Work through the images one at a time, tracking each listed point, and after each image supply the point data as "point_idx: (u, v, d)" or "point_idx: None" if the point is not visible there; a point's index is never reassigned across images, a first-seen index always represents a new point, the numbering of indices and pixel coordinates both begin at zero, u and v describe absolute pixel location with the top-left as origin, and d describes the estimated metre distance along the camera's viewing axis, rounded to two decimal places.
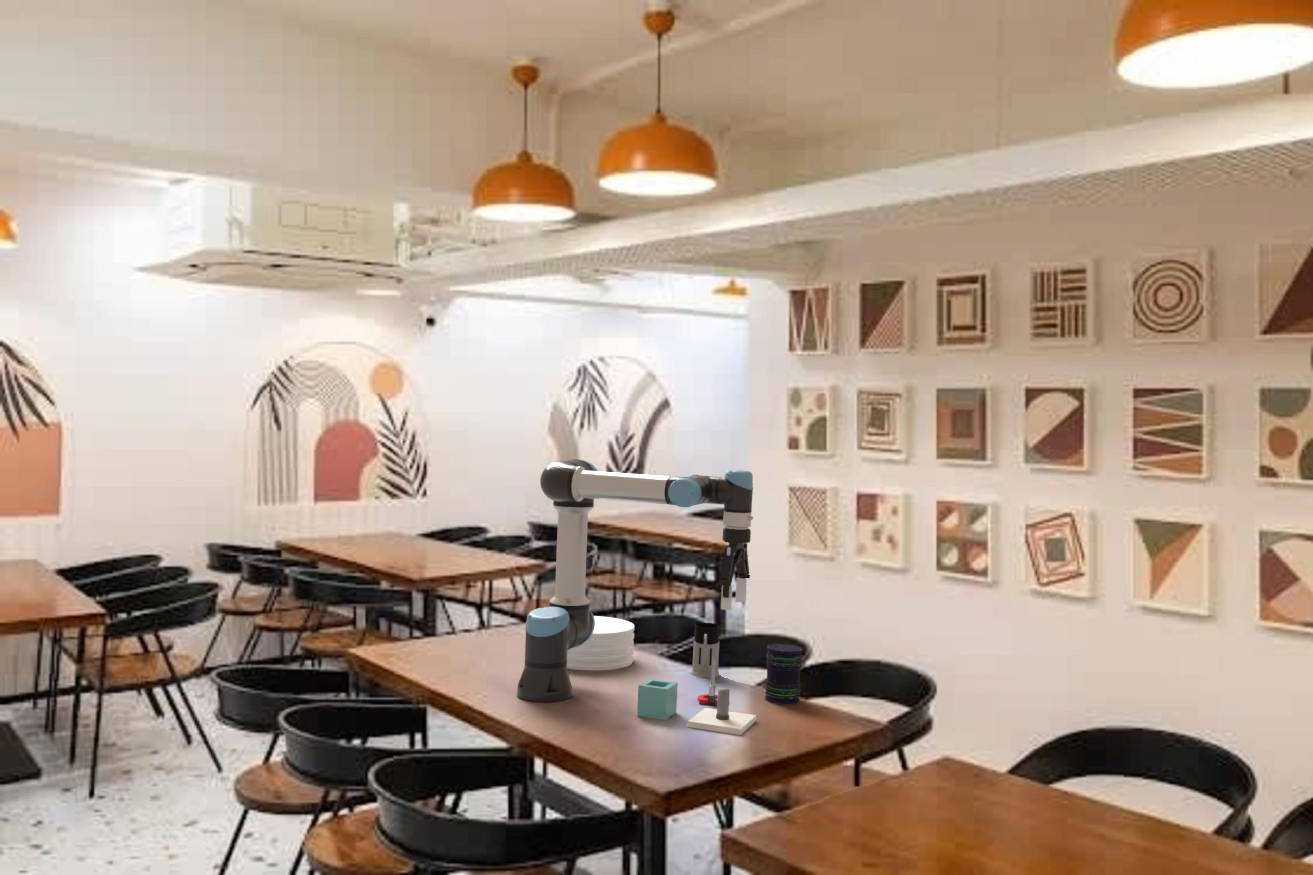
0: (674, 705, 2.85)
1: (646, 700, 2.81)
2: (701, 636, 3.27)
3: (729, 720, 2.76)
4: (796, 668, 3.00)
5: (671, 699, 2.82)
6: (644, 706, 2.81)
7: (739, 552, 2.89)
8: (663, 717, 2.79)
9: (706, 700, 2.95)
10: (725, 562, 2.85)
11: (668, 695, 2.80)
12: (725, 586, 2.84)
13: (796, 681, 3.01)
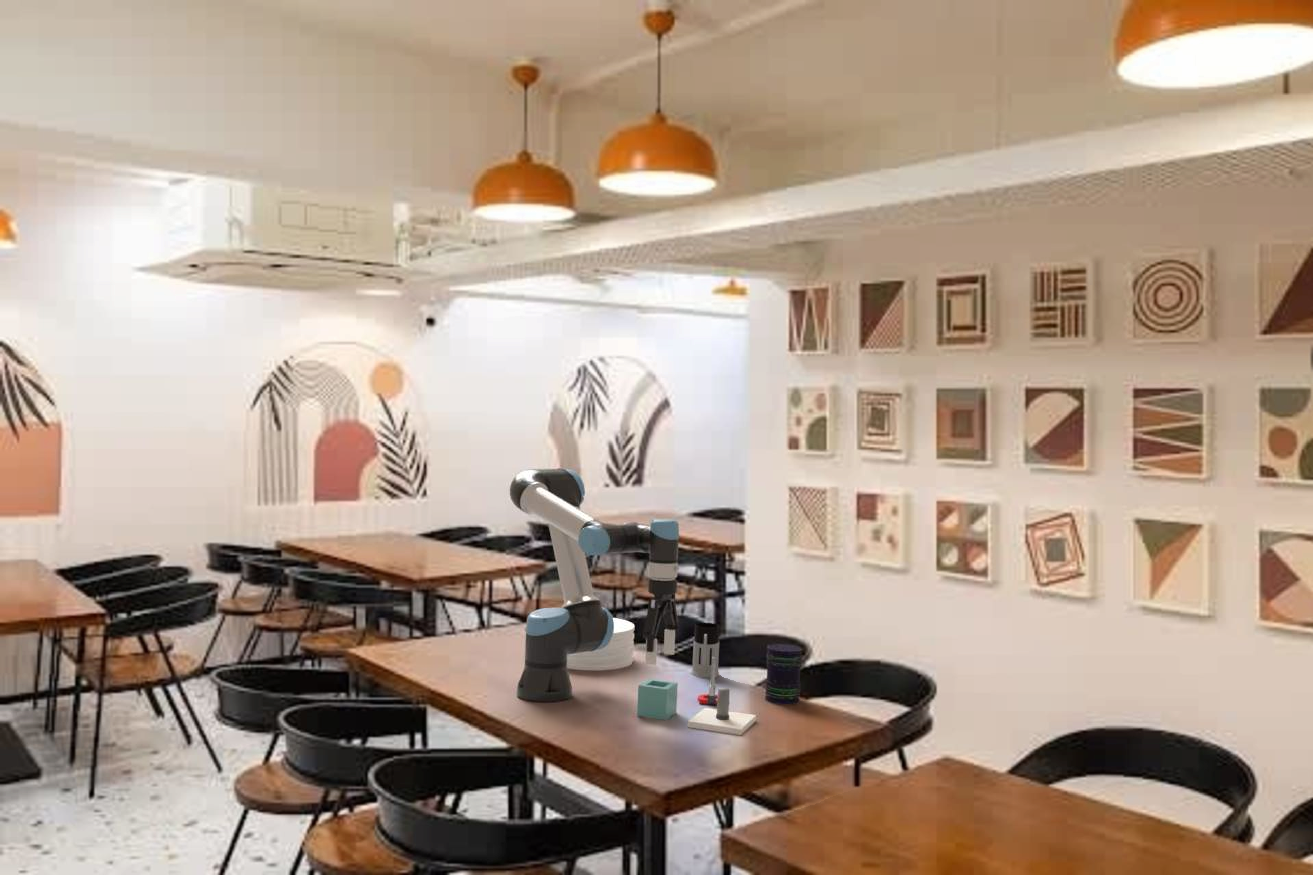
0: (674, 705, 2.85)
1: (646, 700, 2.81)
2: (701, 636, 3.27)
3: (729, 720, 2.76)
4: (796, 668, 3.00)
5: (671, 699, 2.82)
6: (644, 706, 2.81)
7: (665, 604, 2.81)
8: (663, 717, 2.79)
9: (706, 700, 2.95)
10: (649, 615, 2.76)
11: (668, 695, 2.80)
12: (649, 640, 2.76)
13: (796, 681, 3.01)
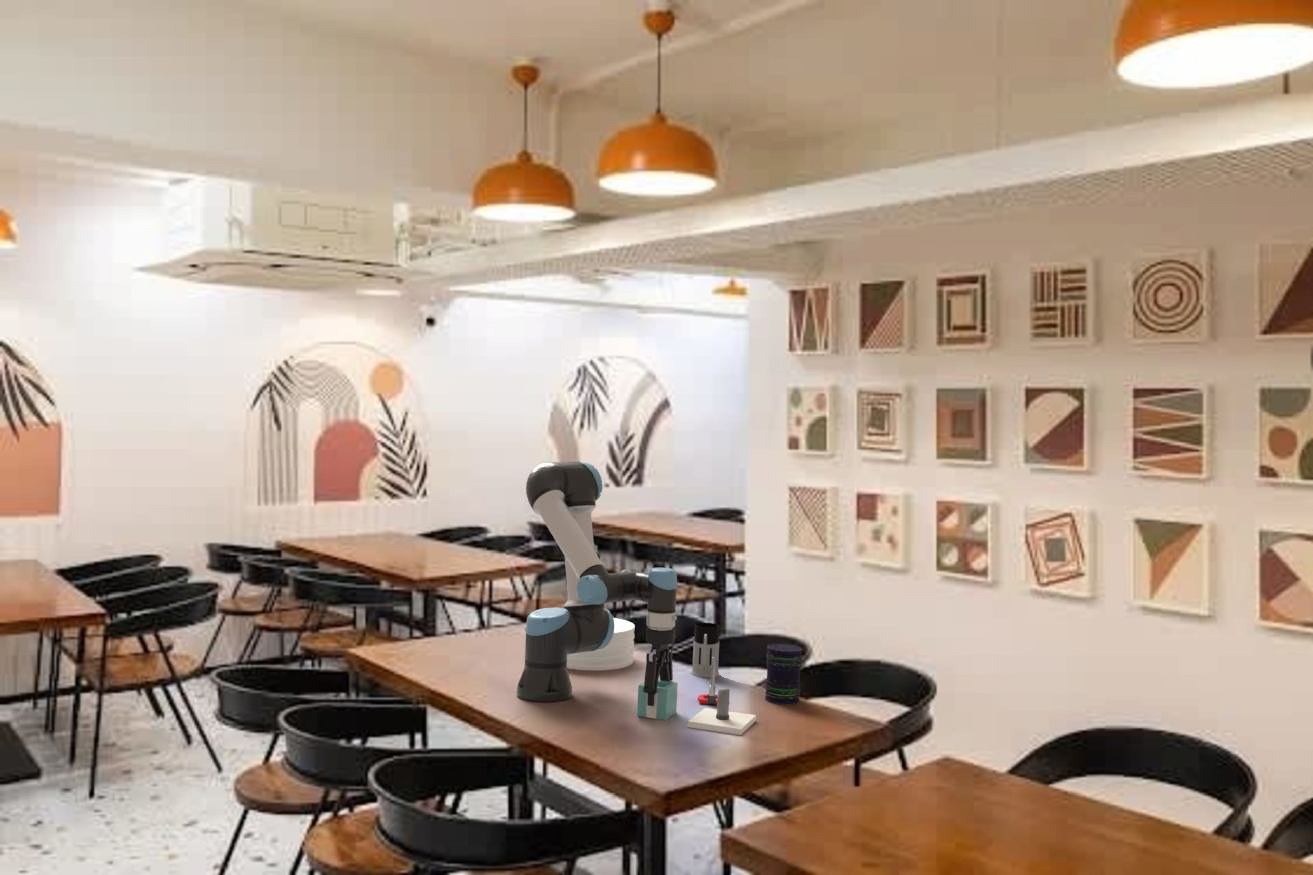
0: (674, 705, 2.85)
1: (646, 700, 2.81)
2: (701, 636, 3.27)
3: (729, 720, 2.76)
4: (796, 668, 3.00)
5: (671, 699, 2.82)
6: (644, 706, 2.81)
7: (662, 654, 2.81)
8: (663, 717, 2.79)
9: (706, 700, 2.95)
10: (648, 669, 2.78)
11: (668, 695, 2.80)
12: (650, 694, 2.78)
13: (796, 681, 3.01)
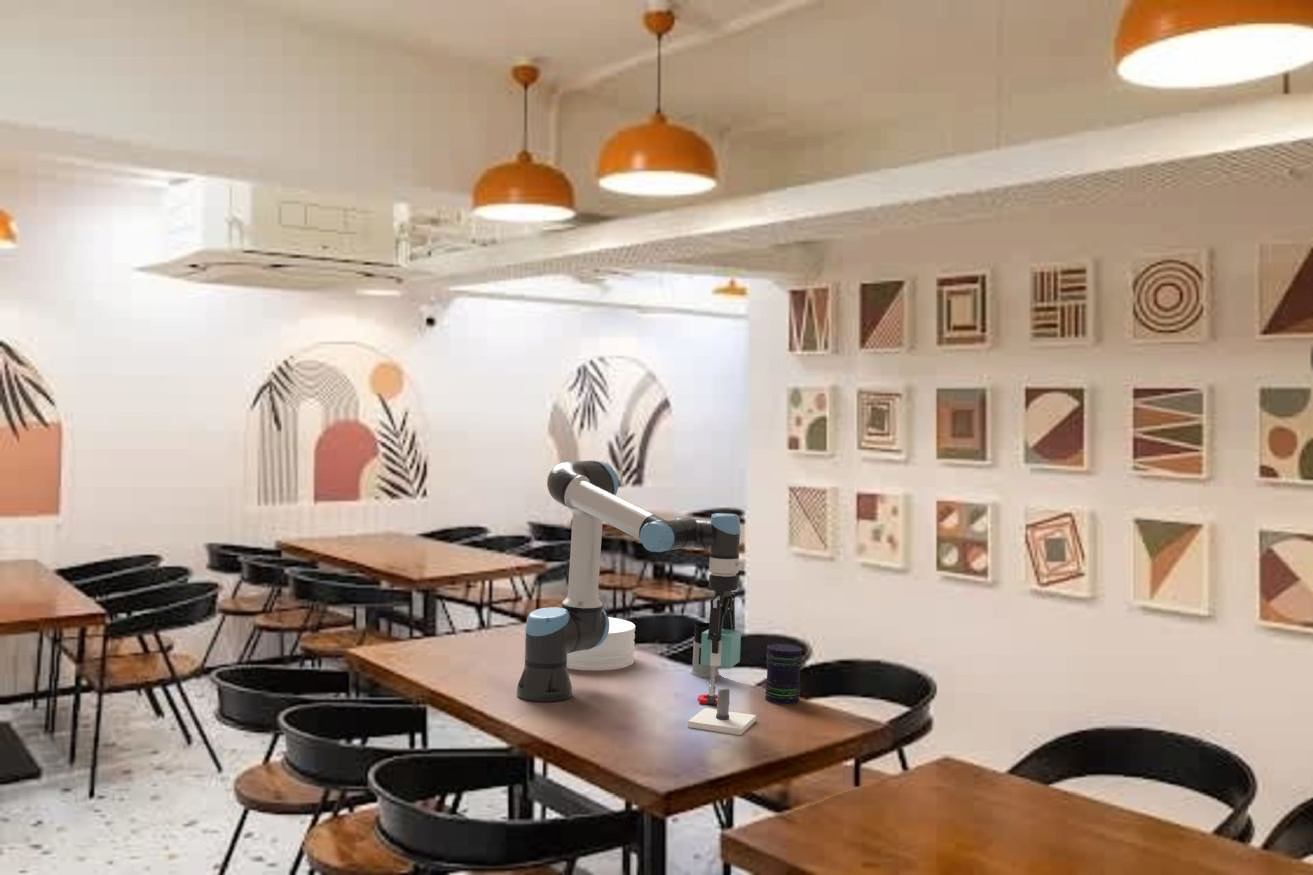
0: (738, 654, 2.78)
1: (710, 648, 2.74)
2: (701, 636, 3.27)
3: (729, 720, 2.76)
4: (796, 668, 3.00)
5: (735, 647, 2.76)
6: (708, 654, 2.74)
7: (726, 601, 2.75)
8: (728, 665, 2.73)
9: (706, 700, 2.96)
10: (712, 616, 2.71)
11: (732, 642, 2.73)
12: (714, 641, 2.72)
13: (796, 681, 3.01)
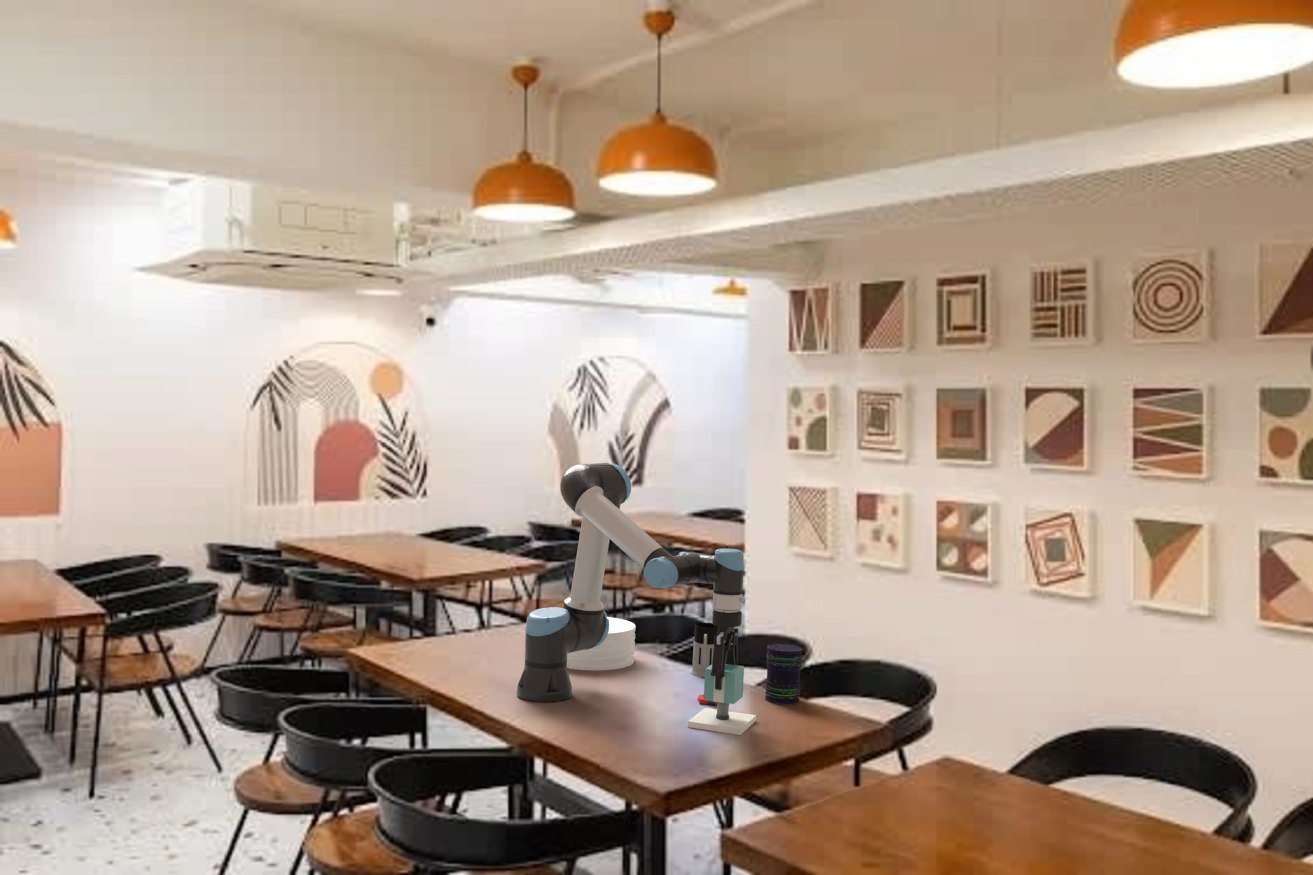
0: (741, 689, 2.78)
1: (713, 684, 2.74)
2: (701, 636, 3.27)
3: (729, 720, 2.76)
4: (796, 668, 3.00)
5: (738, 682, 2.76)
6: (711, 690, 2.74)
7: (730, 637, 2.75)
8: (731, 701, 2.73)
9: (706, 700, 2.96)
10: (716, 652, 2.71)
11: (736, 679, 2.73)
12: (717, 678, 2.72)
13: (796, 681, 3.01)
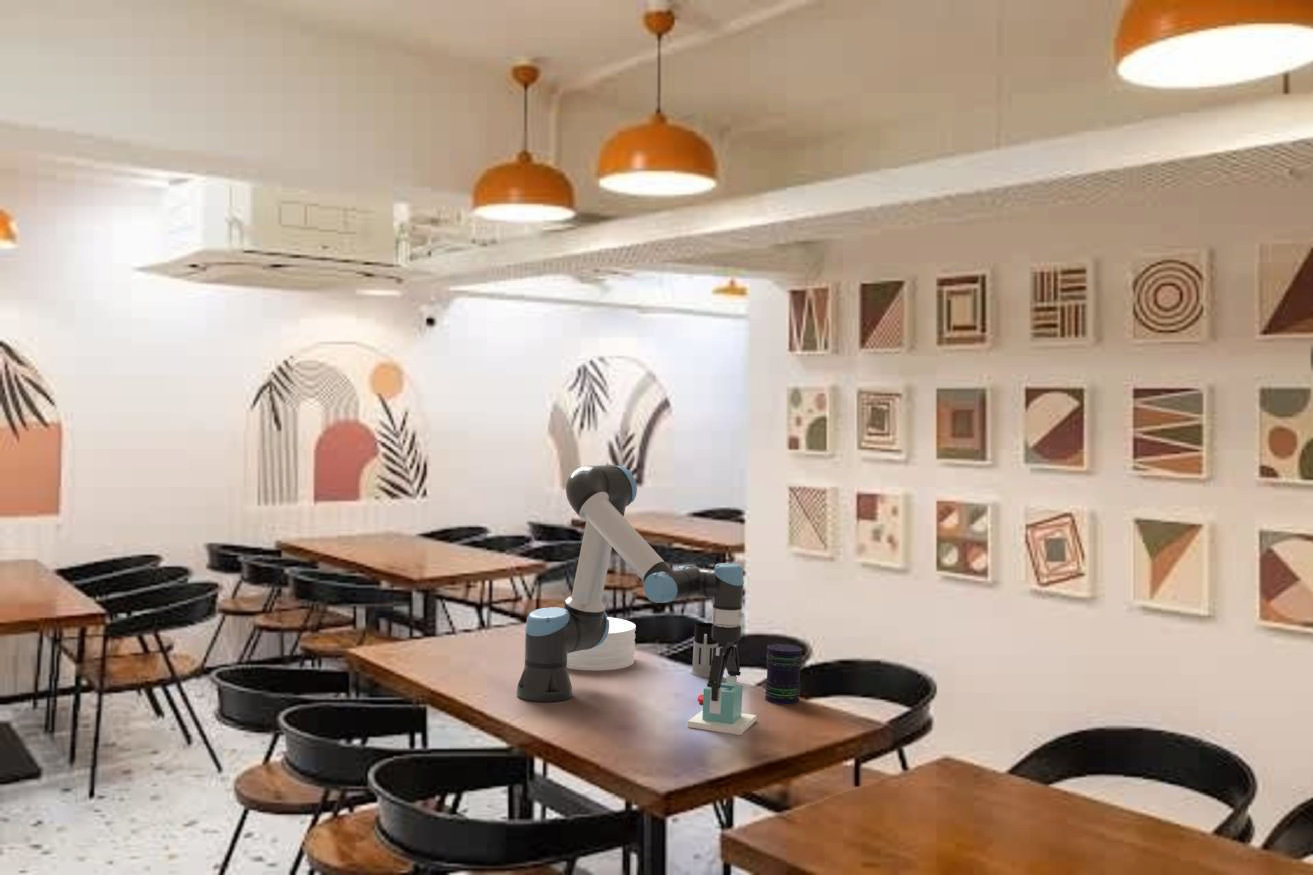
0: (739, 709, 2.78)
1: None
2: (701, 636, 3.27)
3: None
4: (796, 668, 3.00)
5: (737, 702, 2.76)
6: None
7: (729, 651, 2.75)
8: (730, 721, 2.73)
9: None
10: (714, 663, 2.70)
11: (734, 699, 2.73)
12: (714, 689, 2.70)
13: (796, 681, 3.01)
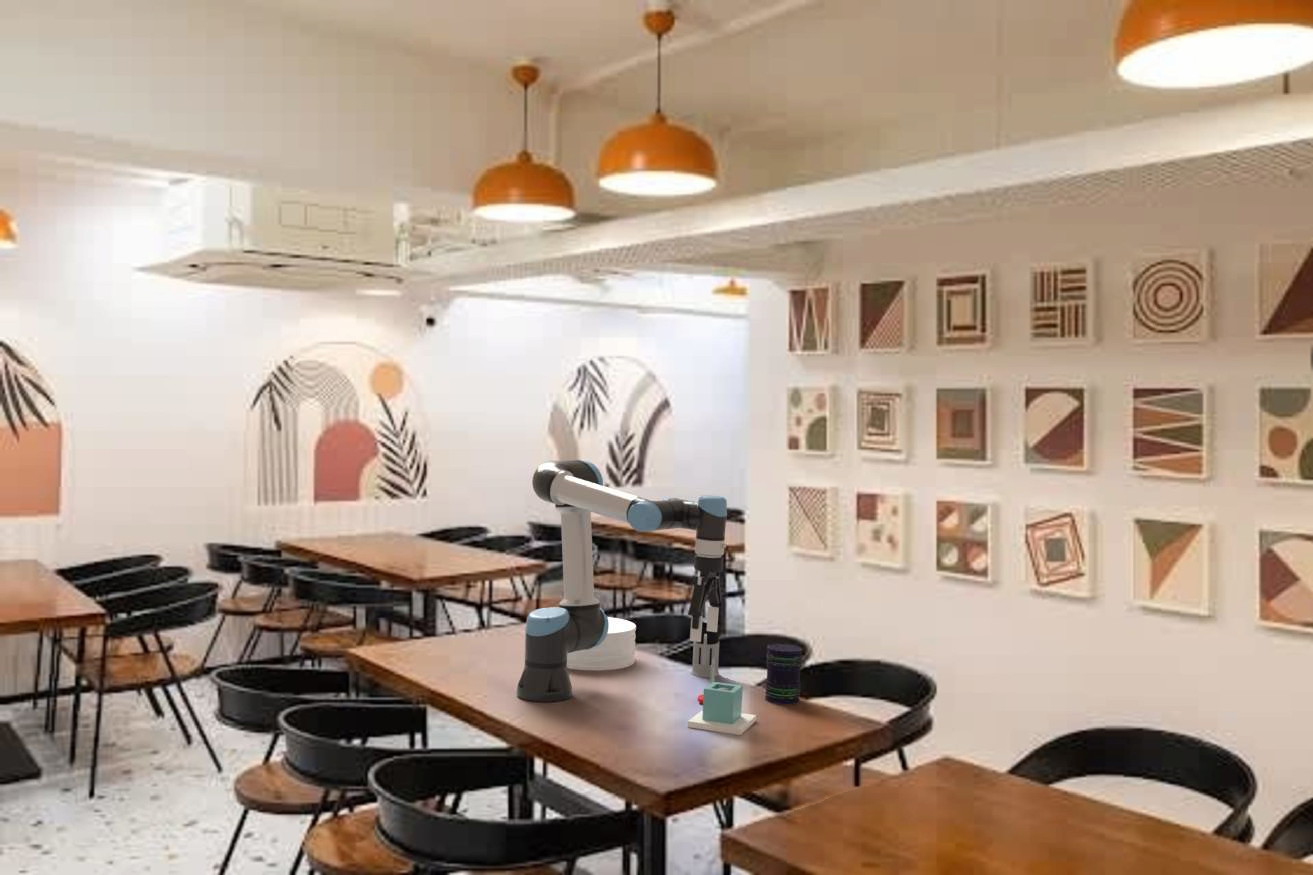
0: (739, 709, 2.78)
1: (712, 704, 2.74)
2: (701, 636, 3.27)
3: None
4: (796, 668, 3.00)
5: (737, 702, 2.76)
6: (710, 710, 2.75)
7: (711, 581, 2.78)
8: (730, 721, 2.73)
9: None
10: (695, 592, 2.74)
11: (734, 699, 2.73)
12: (695, 617, 2.73)
13: (796, 681, 3.01)
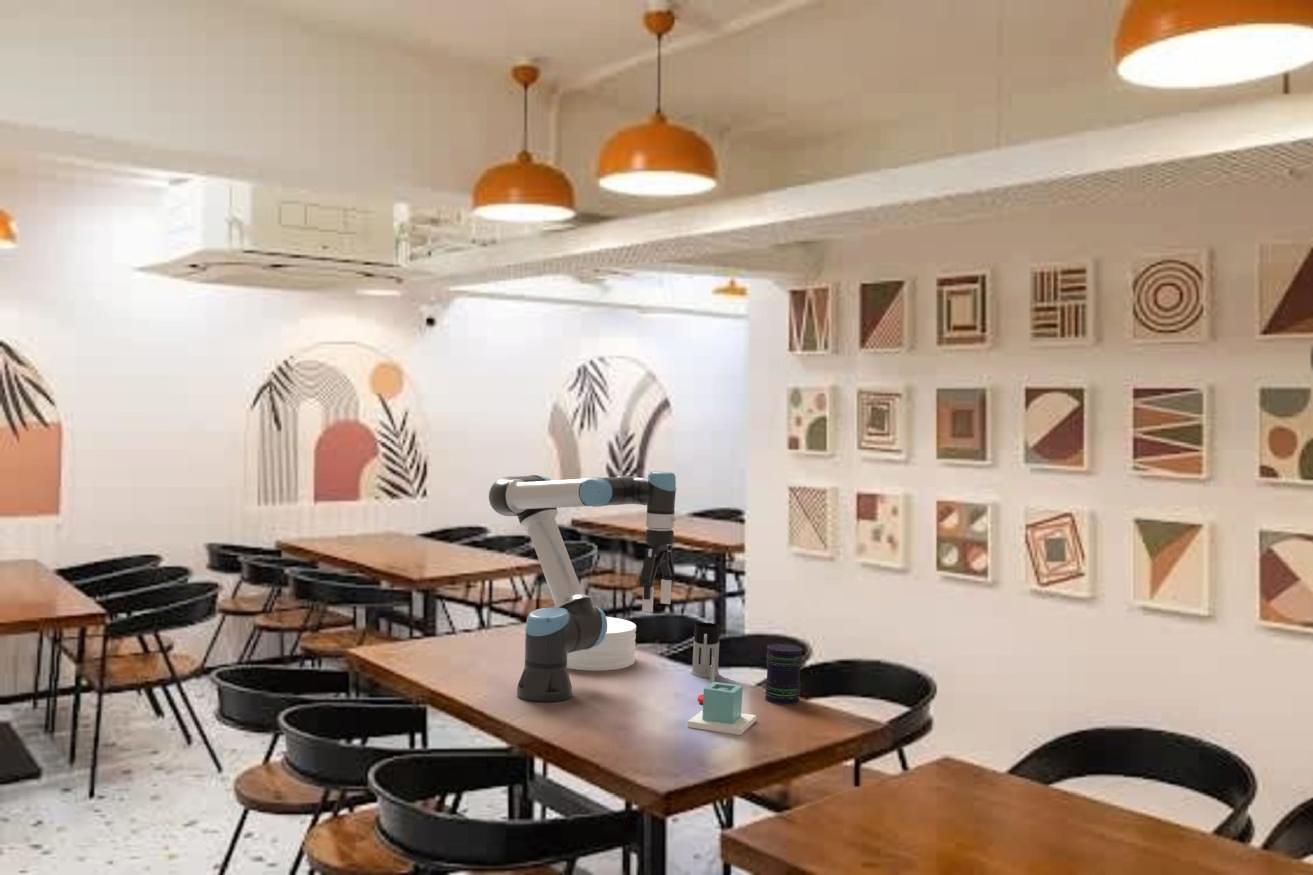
0: (739, 709, 2.78)
1: (712, 704, 2.74)
2: (701, 636, 3.27)
3: None
4: (796, 668, 3.00)
5: (737, 702, 2.76)
6: (710, 710, 2.75)
7: (661, 554, 2.89)
8: (730, 721, 2.73)
9: None
10: (646, 564, 2.84)
11: (734, 699, 2.73)
12: (646, 588, 2.83)
13: (796, 681, 3.01)
